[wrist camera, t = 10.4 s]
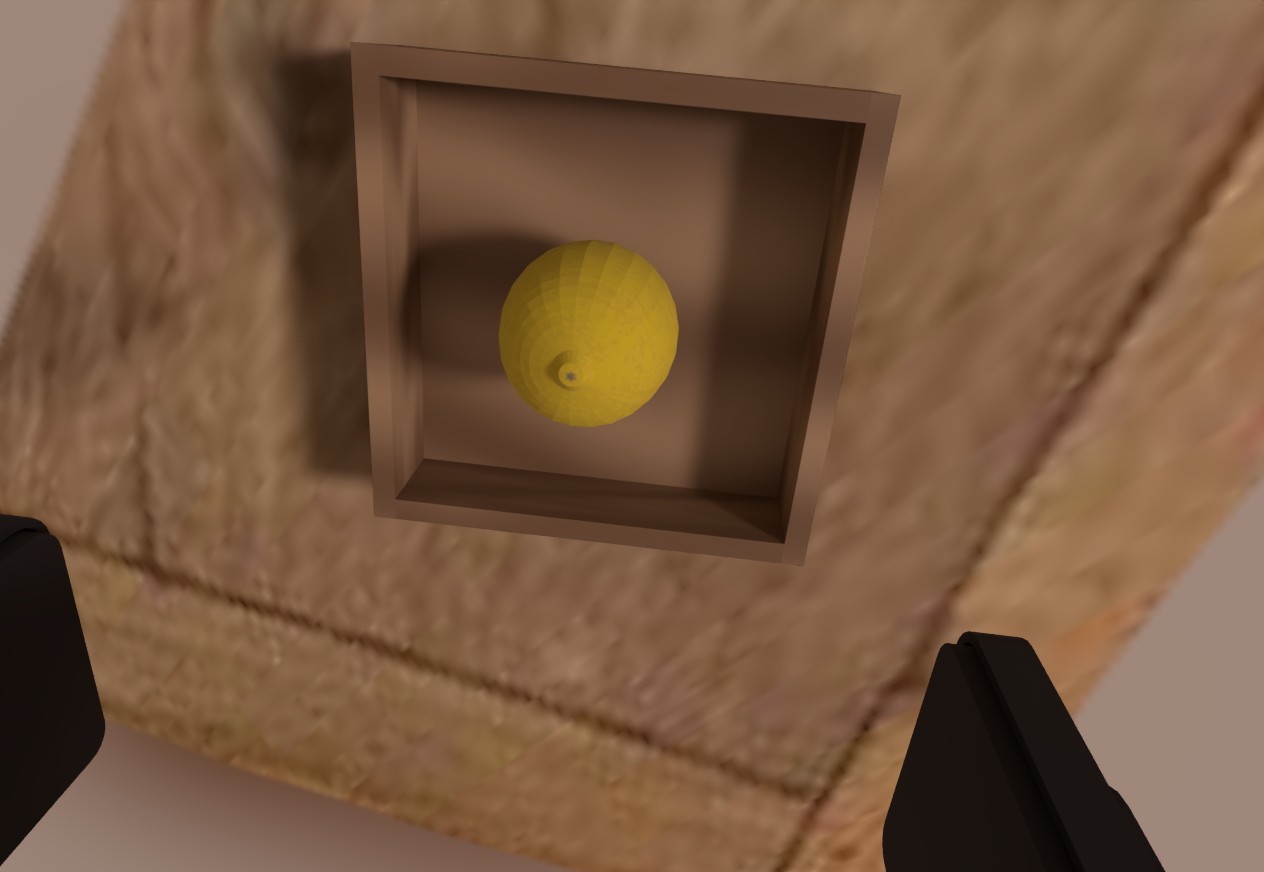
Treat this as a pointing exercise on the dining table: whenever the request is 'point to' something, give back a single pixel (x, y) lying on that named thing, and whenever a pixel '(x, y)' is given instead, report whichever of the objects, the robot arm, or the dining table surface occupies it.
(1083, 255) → the dining table surface
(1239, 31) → the dining table surface
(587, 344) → the lemon
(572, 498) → the bin
